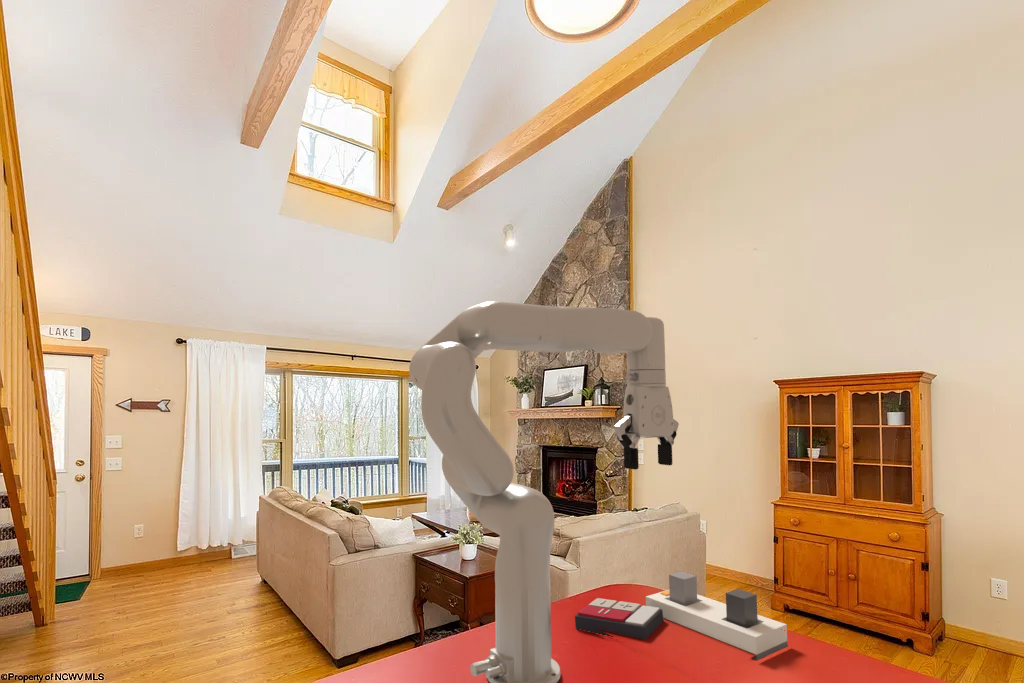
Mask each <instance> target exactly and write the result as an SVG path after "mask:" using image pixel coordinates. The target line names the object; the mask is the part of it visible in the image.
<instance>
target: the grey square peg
mask: <svg viewBox="0 0 1024 683" xmlns="http://www.w3.org/2000/svg"><path fill="white" fill-rule="evenodd" d="M697 580H698V578H697V575H694V574H690V573H688V572H685V571H678V572H674V573H671V574H669V575H668V587H669V589H668V590H669V592H670V601H672V602H675V603H678V604H680V605H683V606H688V605H691V604H694V603H697V594H698V583H697Z"/></svg>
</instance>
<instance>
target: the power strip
mask: <svg viewBox="0 0 1024 683" xmlns="http://www.w3.org/2000/svg"><path fill="white" fill-rule="evenodd" d="M645 606H651V607H658V608H660V609H662V611H663V619H664V620H667V621H670V622H673V623H675V624H676V625H680V626H682V627H685V628H687V629H690V630H692V631H694V632H698V633H700V634H703V635H704V636H707V637H711V638H712V639H715V640H718V641H720V642H723V643H724V644H728V645H730V646H733V647H736V648H738V649H741V650H743V651H745V652H747V653H751V654H752V655H754V656H751V657H750V659H752V660H754V661H759V660H761V659H764V658H766V657H768V656H770V655H773V654H774V653H776V652H779V651H780V650H783V649H785V648H788V626H787V625H788V624H786V623H784V622H781V621H778V620H776V619H775V620H774V619H771V618H769V617H765V616H763V615H760V614H757V617H758V624H757V625H755V626H752V627H750V628H744V627H741V626H738V625H736V624H733V623H730V622H727V614H726V603H724V602H721V601H718V600H714V599H713V598H709V597H706V596H704V595H701V594H698V593H697V603H694V604H691V605H688V606H683V605H680V604H678V603H675V602H672V601H670V592H669V589H666V590H662V591H660V592H657V593H653V594H649V595H646V596H645ZM781 629H782V630H781ZM784 630H785V631H784Z"/></svg>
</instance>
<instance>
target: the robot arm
mask: <svg viewBox="0 0 1024 683" xmlns="http://www.w3.org/2000/svg"><path fill="white" fill-rule="evenodd" d="M665 339H666V338H665V324H664V321H663V320H662V319H661V318H658V317H652V316H651V317H650V316H646V315H644V314H643V313H642V312H639V311H638V310H637V311H636V310H631V309H623V308H622V309H621V308H613V307H612V308H611V307H610V308H609V307H580V306H579V307H578V306H577V307H576V306H554V305H542V304H529V303H520V302H512V301H511V302H509V301H502V300H501V301H498V300H491V301H485V302H482V303H478V304H476V305H473V306H470V307H468V308H466V309H464V310H463V311H462V312H460V313H459V314H458V315H457V316H456V317H454V318H453V319H452V320H450V322H448V324H446V325H445V326H444V327H443V328H442V329H440V330H439V331H438V332H437V333H436V334H435V335H433V336H432V337H431V338H430V339H428V341H427V342H425V343H424V344H423V345H422V346H421V347H419V348H418V349H417V351H415V353H414V354H413V356H412V357H411V360H410V363H409V366H408V369H409V371H408V373H409V376H410V379H411V382H412V383H413V384H414V386H416V387H417V388H418V389H420V390H421V403H420V404H421V407H420V408H421V417H422V421H423V424H424V425H423V426H424V427H425V429H426V431H427V433H428V435H429V437H430V438H431V439H432V441H433V443H434V444H435V445H436V447H437V448H438V449H439V451H440V453H441V454H442V457H441V458H442V459H441V470H442V473H443V476H444V478H445V480H446V482H447V483H448V485H449V486H450V488H451V489H452V490H453V491H454V493H455V494H456V495H457V496H458V498H459V499H460V500H461V501H462V502H463V504H464V505H465V507H467V509H468V510H469V511H470V512H471V513H472V515H473V516H474V517H475V519H476V520H477V521H478V522H479V523H480V524H481V525H482V526H483V527H484V528H486V529H487V530H489V531H490V532H493V533H495V534H497V535H498V536H499V544H498V549H497V551H496V557H495V565H494V583H495V584H494V585H495V588H494V594H495V595H494V598H495V600H494V603H495V605H494V609H495V614H494V616H495V620H494V621H495V623H494V625H495V628H494V629H495V647H493V648H490V649H489V656H487V657H486V658H485V659H484V660H479V661H475V662H473V663H471V664H470V668H469V669H470V674H471V675H472V676H473V677H477V676H480V675H483V674H485V677H486V678H487V680H488V682H489V683H558V682H559V681H560V679H561V667H560V665H559V663H558V662H557V661H556V660H555V659H553V658H552V636H551V635H552V632H551V631H552V630H551V629H552V623H551V620H552V619H551V618H552V617H551V616H552V615H551V614H552V613H551V551H552V550H551V549H552V541H553V536H554V528H555V512H554V508H553V505H552V504H551V502H550V500H549V499H548V498H547V496H545V495H544V494H543V492H541V491H540V490H537V489H535V488H532V487H530V486H528V485H524V484H519V483H516V482H513V479H514V475H515V474H514V473H515V472H514V465H513V461H512V459H511V458H510V455H509V454H508V452H507V451H506V450H505V448H503V446H502V445H501V444H500V442H498V440H497V439H496V437H495V436H494V435H493V433H492V432H491V430H490V429H489V428H488V426H486V424H485V423H484V422H483V420H482V418H481V417H480V416H479V414H478V413H477V411H476V409H475V407H474V405H473V402H472V400H473V399H472V389H473V384H474V380H475V377H476V376H475V375H476V373H477V372H476V371H477V364H476V359H477V358H478V357H479V356H480V355H481V353H482V352H484V351H488V350H489V351H491V350H500V351H501V350H505V351H522V352H534V353H535V352H540V353H568V352H574V351H582V350H583V351H585V350H593V351H594V352H595V353H598V354H601V355H615V354H621V353H622V354H623V353H624V354H625V355H626V374H625V380H626V383H627V384H626V385H627V386H626V387H625V391H624V399H623V414H622V416H623V418H622V419H620V420H619V421H618V422H617V423H616V424H615V425H614V426H613V429H614V431H615V434H616V437H617V438H616V439H617V440H618V441H619V443H620V446H621V448H623V466H624V468H625V469H629V470H638V469H639V449H638V447H637V445H638V443H639V441H640V439H641V438H643V439H650V438H654V439H655V438H656V439H657V441H658V442H659V443H658V444H657V463H658V465H662V466H672V465H673V445H674V443H675V439H676V437H677V432H678V430H679V429H678V428H679V425H680V424H679V421H677V420H676V419H674V411H673V402H672V396H671V393H670V388H669V386H667V384H666V383H667V377H666V345H665V341H666V340H665Z"/></svg>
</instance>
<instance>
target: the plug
mask: <svg viewBox="0 0 1024 683" xmlns="http://www.w3.org/2000/svg"><path fill="white" fill-rule="evenodd" d="M757 596H758V595H757V594H756V593H752V592H749V591H746V590H744V589H739V588H737V589H734V590H730V591H728V592H725V604H726V614H727V622H730V623H733V624H736V625H738V626H741V627H744V628H750V627H752V626H755V625H757V624H758V617H757V615H758V598H757Z"/></svg>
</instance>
